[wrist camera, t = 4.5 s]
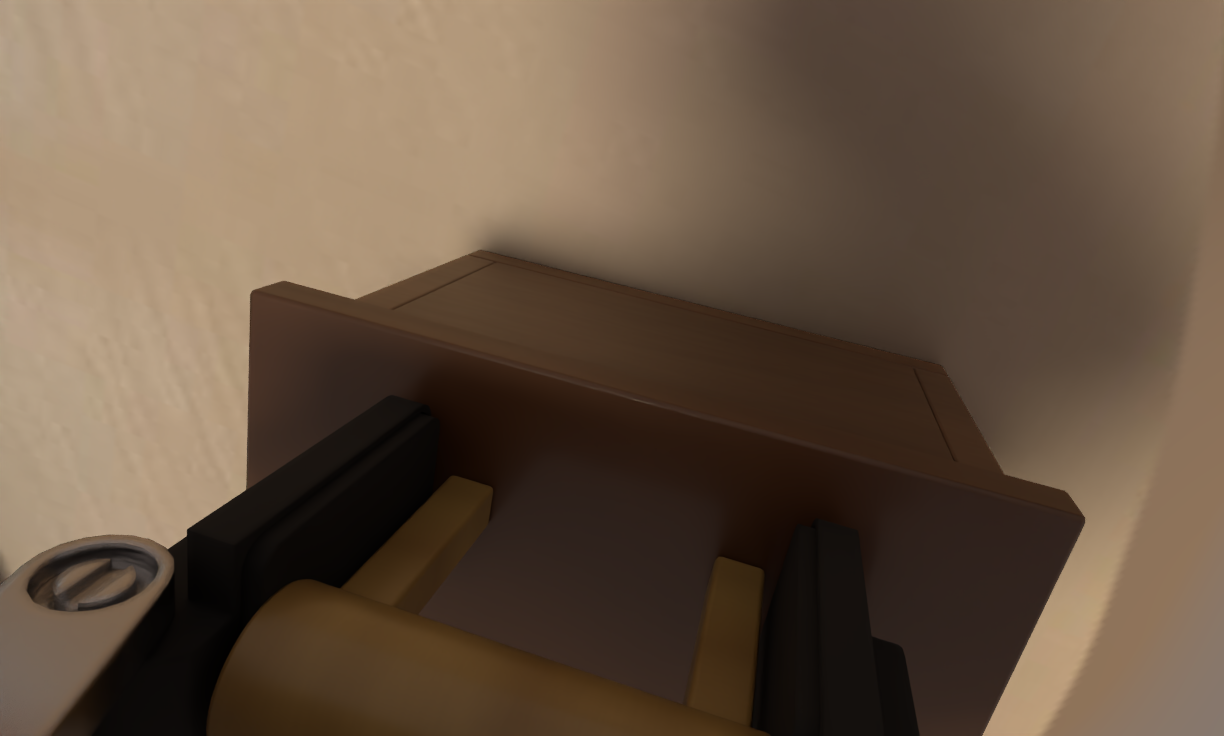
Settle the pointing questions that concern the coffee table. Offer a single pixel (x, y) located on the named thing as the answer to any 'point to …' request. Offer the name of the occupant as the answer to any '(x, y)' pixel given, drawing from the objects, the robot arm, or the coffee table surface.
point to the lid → (605, 546)
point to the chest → (699, 351)
